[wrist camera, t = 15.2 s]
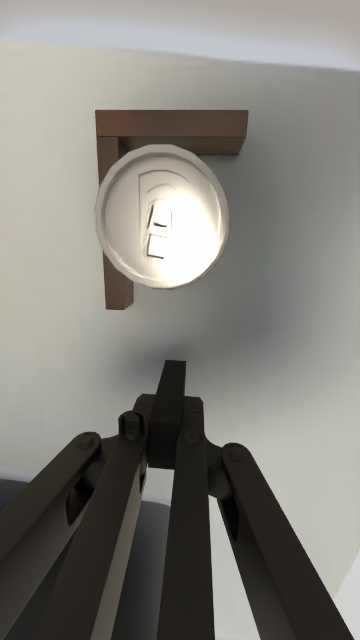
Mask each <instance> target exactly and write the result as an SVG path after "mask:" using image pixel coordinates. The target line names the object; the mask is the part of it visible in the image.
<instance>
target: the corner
mask: <svg viewBox="0 0 360 640" xmlns="http://www.w3.org/2000/svg"><path fill="white" fill-rule="evenodd" d="M95 118H96V136H97V155H98V173H99V188H100V185H101V184H102V182H103V180H104V179H105V177H106V175H107V173H108V172H109V170H110V168H111V167H112V166H113V165H114V164H115V163H117V162H118V161H119V160H120V159H121V158H122V157H123V156H125V155H126V154H127V153H128V152H131V151H133V150H136V149H139V148H141V147H144V146H146V145H149V144H150V145H174V146H177V147H179V148H182V149H184V150H187V151H189V152H192V153H194V154H195V155H238V154H239V152H240V150H241V147H242V145H243V143H244V140H245V138H246V133H247V122H248V110H95ZM103 264H104V282H105V300H106V309H109V310H125V309H126V308H127V307H128V306H130V305H131V304H132V303H133V281H132V280H131V279H129V278H128V277H127V276H125V275H124V274H123V273H121V272H120V271H119V270H117V269H116V268H115V266H114V265H113V264H112V262H111V261H110V260H109V258H108V257H107V255H106V254H105V253H104V251H103Z"/></svg>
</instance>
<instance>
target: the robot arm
mask: <svg viewBox="0 0 360 640" xmlns="http://www.w3.org/2000/svg"><path fill="white" fill-rule="evenodd" d="M185 377H186V361H177V360H166V361H165V365H164V368H163V371H162V375H161V378H160V382H159V385H158V389H157V392H156V395H155V394H142V395H140V396H139V397H138V398H137V400H136V403H135V405H134V408H133V410H132V411H127V412H125V413H123V414H121V415H120V417H119V418H118V422H119V434H118V435H116V436H113V437H109V438H103V439H101V437H100V435H99V434H97V433H96V432H84V433H82V434H79V435H78V436H76V437H75V438H74V439H73V440H72V441H71V442H70V443H69V444H68V445H67V446H66V447H65V448H64V449H63V450H62V451H61V452H60V453H59V454H58V455H57V456H56V457H55V458H54V459H53V460H52V461H51V462H50V463H49V464H48V465H47V466H46V467H45V468H44V469H43V470H42V471H41V472H40V473H39V474H38V475H37V476H36V477H35V478H34V479H33V480H32V481H31V482H30V483H29V484H28V485H27V486H26V487H25V488H24V489H23V490H22V491H21V492H20V493H19V494H18V495H17V496H16V497H15V498H14V499H13V500H12V501H11V502H10V503H9V504H8V505H7V506H6V507H5V508H4V509H3V510H2V511H1V512H0V640H3V639H4V637H5V636H6V634H7V633H8V631H9V630H10V628H11V627H12V625H13V624H14V622H15V621H16V619H17V618H18V616H19V615H20V613H21V612H22V610H23V609H24V607H25V606H26V604H27V603H28V601H29V600H30V598H31V597H32V595H33V593H34V592H35V591H36V589H37V587H38V586H39V584H40V583H41V581H42V580H43V578H44V577H45V575H46V574H47V572H48V571H49V569H50V568H51V566H52V565H53V563H54V562H55V560H56V559H57V557H58V556H59V554H60V553H61V551H62V550H63V548H64V547H65V545H66V544H67V542H68V541H69V539H70V538H71V536H72V534H73V533H74V531H75V530H76V528H77V527H78V525H79V524H80V525H79V527H78V530H77V532H76V534H75V537H74V539H73V541H72V544H71V546H70V548H69V551H68V553H67V555H66V558H65V560H64V562H63V565H62V567H61V569H60V572H59V574H58V576H57V579H56V581H55V583H54V586H53V588H52V590H51V593H50V595H49V597H48V600H47V602H46V604H45V607H44V609H43V611H42V614H41V616H40V618H39V621H38V623H37V625H36V628H35V630H34V633H33V635H32V637H31V639H30V640H110V639H111V634H112V629H113V625H114V620H115V616H116V611H117V607H118V602H119V598H120V593H121V588H122V584H123V580H124V575H125V571H126V566H127V562H128V557H129V553H130V548H131V544H132V539H133V535H134V530H135V525H136V521H137V517H138V512H139V508H140V503H141V499H142V494H143V490H144V485H145V481H146V468H147V464H148V467H150V468H161V469H172V470H175V471H174V480H173V490H172V499H171V509H170V518H169V528H168V538H167V547H166V556H165V566H164V575H163V585H162V594H161V604H160V613H159V623H158V633H157V640H215V632H214V609H213V587H212V565H211V542H210V520H209V498H208V495H210V496H213V497H215V498H217V502H218V506H219V509H220V512H221V515H222V518H223V521H224V525H225V528H226V531H227V534H228V537H229V540H230V544H231V547H232V550H233V553H234V556H235V559H236V563H237V566H238V569H239V572H240V575H241V579H242V582H243V585H244V588H245V591H246V594H247V598H248V601H249V604H250V607H251V610H252V613H253V617H254V620H255V623H256V626H257V629H258V633H259V636H260V639H261V640H354V639H353V636H352V635H351V633H350V631H349V629H348V628H347V626H346V624H345V622H344V620H343V619H342V617H341V615H340V613H339V611H338V609H337V608H336V606H335V604H334V602H333V600H332V599H331V597H330V595H329V593H328V591H327V590H326V588H325V586H324V584H323V582H322V581H321V579H320V577H319V575H318V573H317V572H316V570H315V568H314V566H313V564H312V563H311V561H310V559H309V557H308V555H307V554H306V552H305V550H304V548H303V546H302V545H301V543H300V541H299V539H298V537H297V536H296V534H295V532H294V530H293V528H292V527H291V525H290V523H289V521H288V519H287V518H286V516H285V514H284V512H283V510H282V509H281V507H280V505H279V503H278V501H277V500H276V498H275V496H274V494H273V492H272V491H271V489H270V487H269V485H268V483H267V482H266V480H265V478H264V476H263V474H262V473H261V471H260V469H259V467H258V465H257V464H256V462H255V460H254V458H253V456H252V455H251V453H250V451H249V450H248V449H247V448H246V447H244V446H243V445H241V444H238V443H228V444H226V445H224V446H223V447H219V446H216V445H214V444H212V443H211V442H210V441H209V440H208V439H207V438H206V436H205V433H204V410H203V402H202V400H201V399H200V397H191V396H185Z"/></svg>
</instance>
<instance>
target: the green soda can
mask: <svg viewBox="0 0 360 640" xmlns="http://www.w3.org/2000/svg"><path fill="white" fill-rule="evenodd" d="M95 221H96V232H97V235H98V238H99V240H100V243H101V246H102V249H103V251H104V253H105V254H106V255H107V257H108V258H109V260H110V261H111V262H112V264H113V265H114V266H115V268H116V269H117V270H119V271H120V272H121V273H123V274H124V275H125V276H127V277H128V278H129V279H131V280H132V281H134V282H136V283H138V284H141V285H144V286H147V287H149V288H152V289H167V290H173V289H177V288H180V287H184V286H187V285H191V284H192V283H194V282H195V281H197V280H198V279H200V278H201V277H203V276H204V275H206V274H207V273H208V272H209V271H210V270H211V268H212V267H213V266H214V265H215V263H216V262H217V261H218V260H219V258H220V257H221V254H222V252H223V249H224V247H225V244H226V241H227V239H228V234H229V221H230V213H229V208H228V204H227V199H226V195H225V191H224V190H223V188H222V186H221V185H220V183H219V181H218V179H217V178H216V176H215V174H214V173H213V172H212V170H211V168H210V167H209V166H207V165H206V164H205V163H204V162H203V161H202V160H201V159H199V158H198V157H197V156H196V155H195V154H194V153H192V152H189V151H187V150H184V149H182V148H179V147H177V146H174V145H150V144H149V145H146V146H144V147H141V148H139V149H136V150H133V151H131V152H128V153H127V154H126V155H125V156H123V157H122V158H121V159H120V160H119V161H118V162H117V163H115V164H114V165H113V166H112V167H111V168H110V170H109V172H108V173H107V175H106V177H105V179H104V180H103V182H102V184H101V185H100V188H99V192H98V196H97V201H96V205H95Z"/></svg>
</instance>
